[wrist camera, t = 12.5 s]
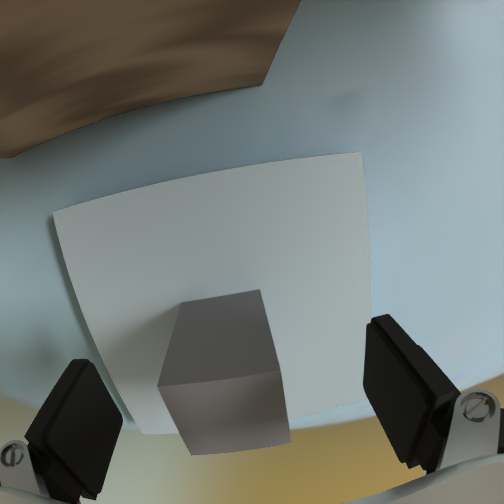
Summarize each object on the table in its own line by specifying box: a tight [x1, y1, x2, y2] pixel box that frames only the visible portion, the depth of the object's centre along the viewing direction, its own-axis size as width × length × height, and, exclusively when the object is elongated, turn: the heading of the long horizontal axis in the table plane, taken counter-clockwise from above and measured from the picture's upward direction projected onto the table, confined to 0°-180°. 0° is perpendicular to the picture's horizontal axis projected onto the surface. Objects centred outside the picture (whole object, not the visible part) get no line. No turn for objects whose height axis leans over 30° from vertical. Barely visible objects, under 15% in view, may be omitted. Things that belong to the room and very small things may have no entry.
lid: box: [52, 152, 371, 455], centre depth 13 cm, size 16×16×9 cm
